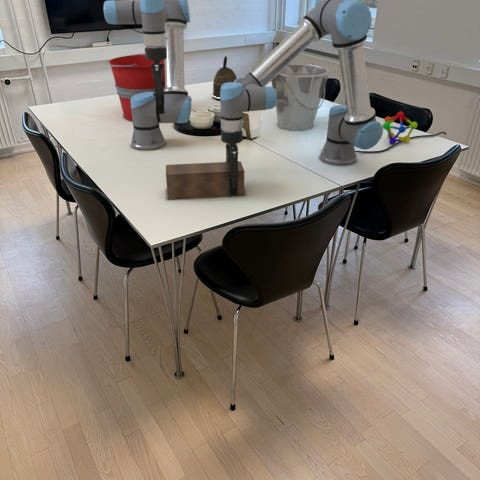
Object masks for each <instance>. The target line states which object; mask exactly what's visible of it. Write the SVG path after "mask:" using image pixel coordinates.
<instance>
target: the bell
mask: <svg viewBox="0 0 480 480" xmlns="http://www.w3.org/2000/svg"><path fill="white" fill-rule="evenodd" d="M227 63H228V57H227V56H224V58H223V63H222V67H221V68H219V69H218V70H217V71H216V73H215V75H214V78H213V81H212V83H213V84H212V95H214V96H216V97H220V91H221V86H222V85H223V84H224V83H228V82H234V80H235V79H237V78H238V77H237V75H236V73H235V72H234V70H232V69H231V68H230V67H227Z"/></svg>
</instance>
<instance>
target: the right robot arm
mask: <svg viewBox="0 0 480 480" xmlns="http://www.w3.org/2000/svg"><path fill="white" fill-rule="evenodd" d="M372 20H373V19H372V12H371V10H370V7H369V6H368V5H367V4H366V2H363V1H362V0H322V1H321V2H319V3H318V4H317V5H315V6H314V7H313V8H311V10H310V11H309V12H307V13H306V14H305V15H304V16H303V17H302V18H301V19H300V23H299V25H298V26H297V27H295V29H293V31H292V32H290V33H289V34H288V35H287V36H286V37H285V38H284V39H283V40H282V41H281V42H280V43H279V44H278V45H276V47H274V48H273V49H272V50H271V51H270V52H269V53H268V54H266V56H265V57H263V59H262V60H260V62H258V63H257V64H256V65H255V67H253V68H252V69H251V70H250V71H249V72H248V73H246V75H244V76H243V77H242V76H241V77H237V79H235V80H234V82H228V83H224V84H223V85H222V86H221V91H220V100H219V102H220V141H221V142H222V143H224V144H225V162H230V178H228V179H230V195H238V178H239V177H238V161H239V147H238V144H240V143H242V142H243V137H244V135H243V133H244V132H243V123H245V120H244V119H243V118H244V113H246V112H259V111H267V110H272V109H274V108H276V107H275V105H276V102H277V95H276V91H275V89H274V88H273V87H272V86H267V85H268V84H269V83H270V82H271V80H272V79H273V78H274V77H275V76H276V75H278V74H279V73H280V72H281V71H282V70H283V69H284V68H285V67H286V66H287V65H289V64H292V62H293V61H294V60H295V59H296V58H297V57H299V55H300V54H301V53H303V52H304V51H305V50H306V49H307V48H309V46H310V45H311V44H313V42H319V41H320V40H321V39H322V38H323V37H325V36H328V35H330V37H331V38H330V39H331V44H332V48H333V49H335V50H337V54H338V60H339V67H340V73H341V79H342V85H343V93H344V98H345V104H337V105H332V106H331V107H330V109H329V113H328V121H327V132H326V139H325V142H324V144H323V147H322V148H320V156H319V159H320V160H321V161H322V162H323V163H325V164H329V165H334V166H349V165H352V164H354V163H356V160H357V153H358V154H377V153H384V152H387V151H388V150H389V149H392V148H393V147H395V146H397V145H398V144H400V143H402V142H403V141H397V142H396V143H395V144H391V145H390V146H389V147H387V148H385V149H381V150H370V149H372V148H374V147H375V146H377V144H378V143H379V142H380V140H381V139H382V137H383V133H384V128H383V124H381V122H380V121H377V116H376V110H375V108H373V107H372V106H371V101H370V91H369V84H368V76H367V67H366V57H365V49H364V44H365V42H366V41H367V39H368V36H367V35H368V33H369V32H370V28H371V25H372ZM441 134H444V135H447V133H446V131H439V132H438V133H434V134H425V135H424V134H421V135H414V136H409V137H410V140H411V139H416V138H427V137H436V136H439V135H441ZM356 148H358V149H360V150H356ZM238 196H239V195H238Z"/></svg>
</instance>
